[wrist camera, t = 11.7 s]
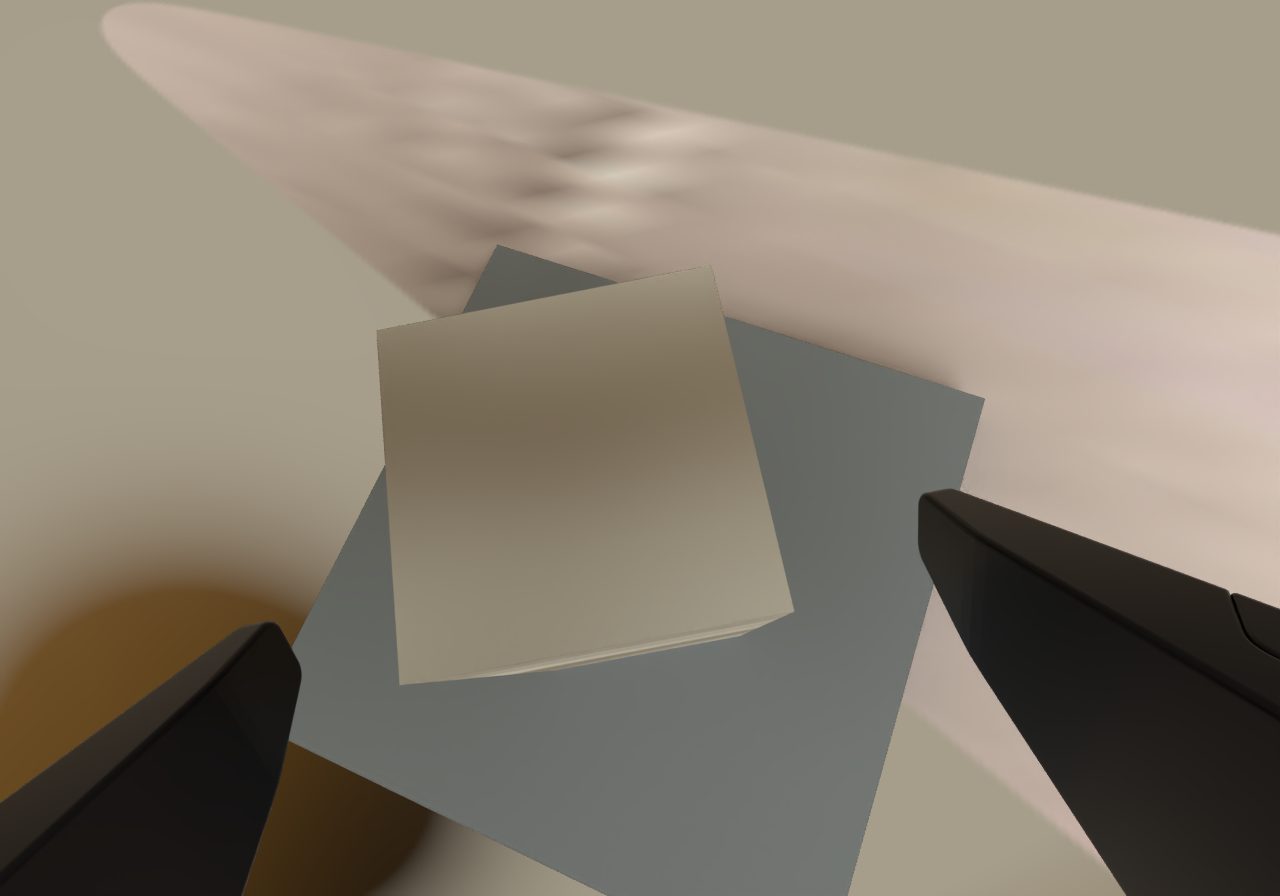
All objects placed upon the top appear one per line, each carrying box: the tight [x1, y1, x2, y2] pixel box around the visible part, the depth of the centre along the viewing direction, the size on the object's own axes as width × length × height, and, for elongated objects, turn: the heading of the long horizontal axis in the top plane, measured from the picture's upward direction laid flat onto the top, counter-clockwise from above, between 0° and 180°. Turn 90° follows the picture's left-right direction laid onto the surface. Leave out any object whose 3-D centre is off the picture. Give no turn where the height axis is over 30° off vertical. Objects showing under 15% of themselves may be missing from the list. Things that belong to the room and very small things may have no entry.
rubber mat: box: [289, 245, 985, 896], centre depth 17 cm, size 14×14×1 cm
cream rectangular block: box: [377, 265, 794, 685], centre depth 13 cm, size 4×4×9 cm
